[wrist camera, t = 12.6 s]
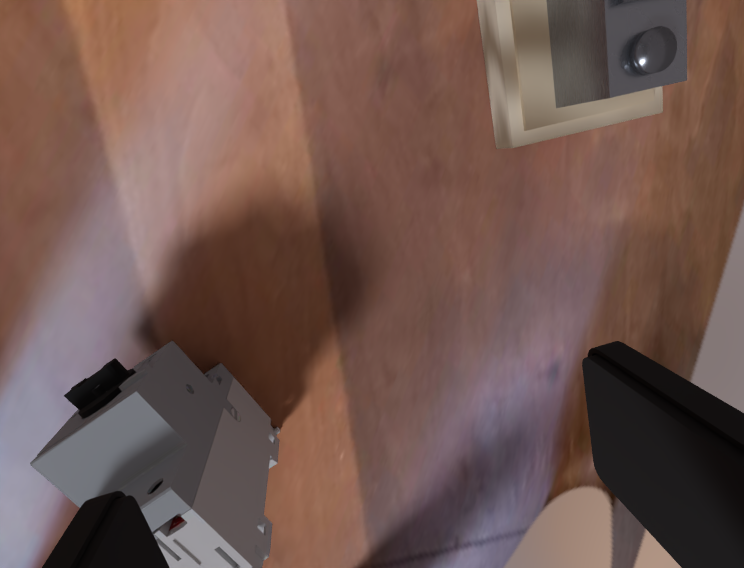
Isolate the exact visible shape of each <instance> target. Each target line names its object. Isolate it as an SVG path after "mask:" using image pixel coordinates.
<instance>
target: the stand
mask: <svg viewBox="0 0 744 568" xmlns="http://www.w3.org/2000/svg"><path fill="white" fill-rule="evenodd" d="M477 6H478V14H479V21H480V29H481V36H482V44H483V51H484V59H485V67H486V74H487V82H488V89H489V97H490V104H491V112H492V119H493V127H494V135H495V142H496V149H501V148H515V147H519V146H523V145H528V144H532V143H536V142H540V141H544V140H549V139H553V138H557V137H561V136H565V135H570V134H574V133H578V132H582V131H586V130H591V129H595V128H599V127H603V126H607V125H611V124H616V123H620V122H624V121H628V120H632V119H637V118H641V117H645V116H649V115H653V114H658V113H662V112H663V99H662V86H660V87H656V88H651V89H647V90H643V91H638V92H634V93H630V94H625V95H621V96H617V97H612V98H608V99H602V100H597V101H592V102H587V103H581V104H576V105H571V106H566V107H561V108H556V102H555V91H554V80H553V68H552V57H551V46H550V35H549V24H548V13H547V1H546V0H477Z"/></svg>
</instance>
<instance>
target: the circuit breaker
mask: <svg viewBox="0 0 744 568" xmlns="http://www.w3.org/2000/svg"><path fill="white" fill-rule="evenodd" d="M64 396H65V397H66V398H67V399H68V400H69V401H70V402H71V403H72V404H73V405H74V406H76V407H77V408H78V410H77V411H76V412H75V413H74V415H73V416H72V417H71V418H70V419H69V420H68V421H67V422H66V423H65V425H64V426H63V427H62V428H61V429H60V430H59V431H58V432H57V434H56V435H55V436H54V437H53V438H52V439H51V440H50V441H49V442H48V444H47V445H46V446H45V447H44V448H43V449H42V450H41V451H40V452H39V454H38V455H37V457H36V458H35V459H34V460H33V461H32V462H31V463H30V464H31V466H32V467H33V468H35V469H36V470H37V471H38V472H39V473H40V474H41V475H43V476H44V477H45V478H46V479H47V480H48V481H50V482H51V483H52V484H53V485H54V486H55V487H56V488H58V489H59V490H60V491H61V492H62V493H63V494H65V495H66V496H67V497H68V498H69V499H70V500H71V501H73V502H74V503H75V504H76V505H77V506H78V507H81V506H82V504H83V503H84V502H85V501H87V500H89V499H91V498H95V497H98V496H101V495H105V494H108V493H111V492H115V491H122V492H123V493H124V494H125V495H126V496H128V495H131V496H133V497H134V498H135V499H136V501H137V503H138V505H139V507H140V509H141V511H142V513H143V515H144V517H145V519H146V521H147V523H148V525H149V527H150V529H151V531H152V533H153V535H154V537H155V539H156V541H157V543H158V545H159V547H160V549H161V551H162V553H163V555H164V557H165V559H166V561H167V563H168V565H169V567H170V568H262V565H263V561H264V560H265V559H267V558H268V557H269V553H270V545H271V533H272V523H271V522H270V521H269V520H268V519H267V518H266V517H265V516H264V508H265V499H266V490H267V481H268V472H269V468H271V467H272V466H274V465H275V464H277V463H278V451H279V439H278V438H277V437H276V435H277V434H278V433H280V429H279V428H278V426H277V427H276V428H273V427H272V426H271V425H270V424H271V419H270V417H269V416H268V415H267V414H266V413H265V412H264V411H263V409H262V408H261V407H260V406H259V405H258V404H257V403H256V402H255V400H254V399H253V398H252V397H251V396H250V395H249V394H248V392H247V391H246V390H245V389H244V388H243V387H242V386H241V385H240V383H239V382H238V381H237V380H236V379H235V378H234V377H233V376H232V374H231V373H230V372H229V371H228V370H227V369H226V368H225V366H224V365H223V364H222V363H220V364H218V365H217V366H215V367H214V368H212V369H211V370H209V371H208V372H206V373H205V374H203V373H202V372H201V371H200V370H199V369H198V368H197V367H196V365H195V364H194V363H193V362H192V361H191V360H190V359H189V358H188V357H187V356H186V354H185V353H184V352H183V351H182V350H181V349H180V348H179V347H178V346H177V345H176V344H175V342H174V341H171V342H169V343H168V344H166V345H165V346H163V347H162V348H161V349H159V350H158V351H156V352H155V353H153V354H152V355H150V356H149V357H147V358H146V359H145V360H143V361H142V362H140V363H139V364H137V365H136V366H134V368H133V369H130V370H128V371H127V370H126V369H125V368H124V367H123V366H122V365H121V364H120V362H119V361H118V360H117V359H113V360H112V361H110V362H109V363H107V364H106V365H104V366H103V368H102V369H101V370H99V371H98V372H96V373H95V374H94V375H92V376H91V377H89V378H88V379H86V378H85V379H84V380H83V381H81V382H80V383H78V384H77V385H75V386H74V387H72V388H71V390H70V391H69V392H68V393H67V394H65V395H64Z"/></svg>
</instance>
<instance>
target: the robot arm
mask: <svg viewBox="0 0 744 568" xmlns="http://www.w3.org/2000/svg"><path fill="white" fill-rule="evenodd" d="M582 367H583V375H584V384H585V393H586V401H587V410H588V419H589V427H590V436H591V445H592V454H593V462H594V466H595V469H596V472H597V474H598V476H599V477H600V479H601V480H602V481H603V483H604V484H605V485H606V486H607V487H608V488H609V489H610V490H611V491H612V492H613V493H614V495H615V496H616V497H617V498H618V499H619V500H620V501H621V502H622V503H623V504H624V505H625V507H626V508H627V509H628V510H629V511H630V512H631V513H632V514H633V515H634V516H635V517H636V518H637V520H638V521H639V522H640V523H641V524H642V525H643V526H644V527H645V528H646V529H647V530H648V531H649V533H650V534H651V535H652V536H653V537H654V538H655V539H656V540H657V541H658V542H659V543H660V545H661V546H662V547H663V548H664V549H665V550H666V551H667V552H668V553H669V554H670V555H671V556H672V557H673V559H674V560H675V561H676V562H677V563H678V564H679V565H680V566H681V567H682V568H744V413H742V412H741V411H739V410H737V409H736V408H734V407H732V406H730V405H729V404H727V403H725V402H723V401H722V400H720V399H718V398H717V397H715V396H713V395H712V394H710V393H708V392H706V391H705V390H703V389H701V388H699V387H698V386H696V385H694V384H693V383H691V382H689V381H687V380H686V379H684V378H682V377H681V376H679V375H677V374H675V373H674V372H672V371H670V370H669V369H667V368H665V367H663V366H662V365H660V364H658V363H657V362H655V361H653V360H651V359H650V358H648V357H646V356H644V355H643V354H641V353H639V352H638V351H636V350H634V349H632V348H631V347H629V346H627V345H626V344H624V343H622V342H619V341H615V342H612V343H608V344H605V345H602V346H598V347H595V348H592V349H590V350H589V352H588V357H587V358H584V359H583V362H582ZM42 568H170V567H169V565H168V563H167V561H166V559H165V557H164V555H163V553H162V551H161V549H160V547H159V545H158V543H157V541H156V539H155V537H154V535H153V533H152V531H151V529H150V527H149V525H148V523H147V521H146V519H145V517H144V515H143V513H142V511H141V509H140V507H139V505H138V503H137V501H136V499H135V498H134V497H133V496H131V495H128V496H126V495H125V494H124V493H123V492H122V491H115V492H111V493H108V494H105V495H101V496H98V497H95V498H91V499H89V500H87V501H85V502H84V503H83V504H82V506H81V507H80V509H79V510H78V512H77V514H76V515H75V517H74V518H73V520H72V521H71V523H70V525H69V526H68V528H67V529H66V531H65V532H64V534H63V536H62V537H61V539H60V540H59V542H58V543H57V545H56V546H55V548H54V550H53V551H52V553H51V554H50V556H49V557H48V559H47V561H46V562H45V564H44V565H43V567H42Z"/></svg>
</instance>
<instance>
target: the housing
mask: <svg viewBox="0 0 744 568" xmlns="http://www.w3.org/2000/svg"><path fill="white" fill-rule="evenodd" d="M546 1H547V13H548V24H549V35H550V46H551V57H552V68H553V80H554V91H555V102H556V108H561V107H566V106H571V105H576V104H581V103H587V102H592V101H597V100H602V99H608V98H612V97H617V96H621V95H625V94H630V93H634V92H638V91H643V90H647V89H651V88H656V87H660V86H664V85H669V84H673V83H677V82H682V81H686V80H687V24H686V0H546Z"/></svg>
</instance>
